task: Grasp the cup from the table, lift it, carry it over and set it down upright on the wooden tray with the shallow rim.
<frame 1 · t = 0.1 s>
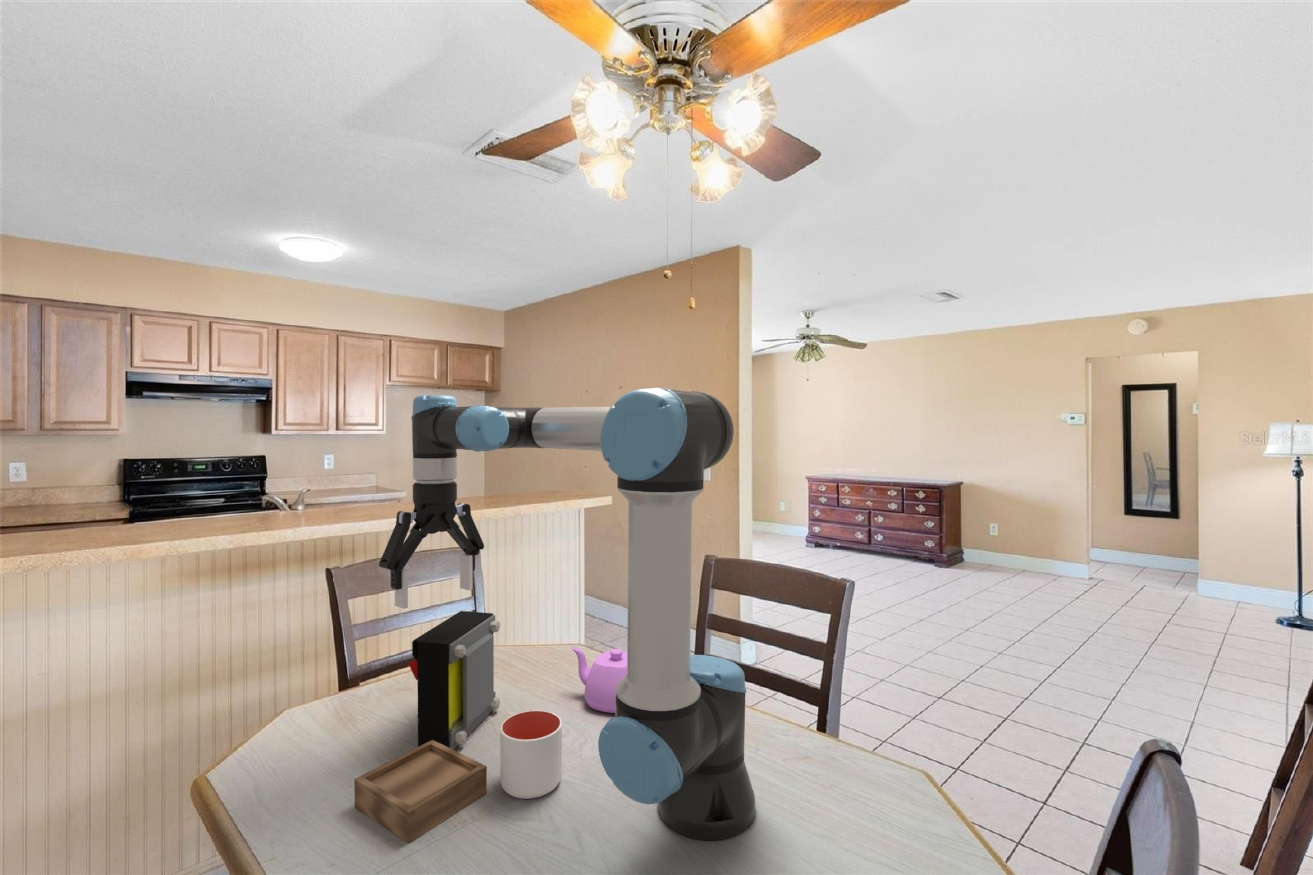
hand: (435, 597, 110), 28 cm above the table, fingers open, 13 cm apart
cup: (531, 785, 101), on the table
teapot: (613, 702, 131), on the table
electrical component: (458, 728, 119), on the table
wooden tray: (421, 800, 96), on the table
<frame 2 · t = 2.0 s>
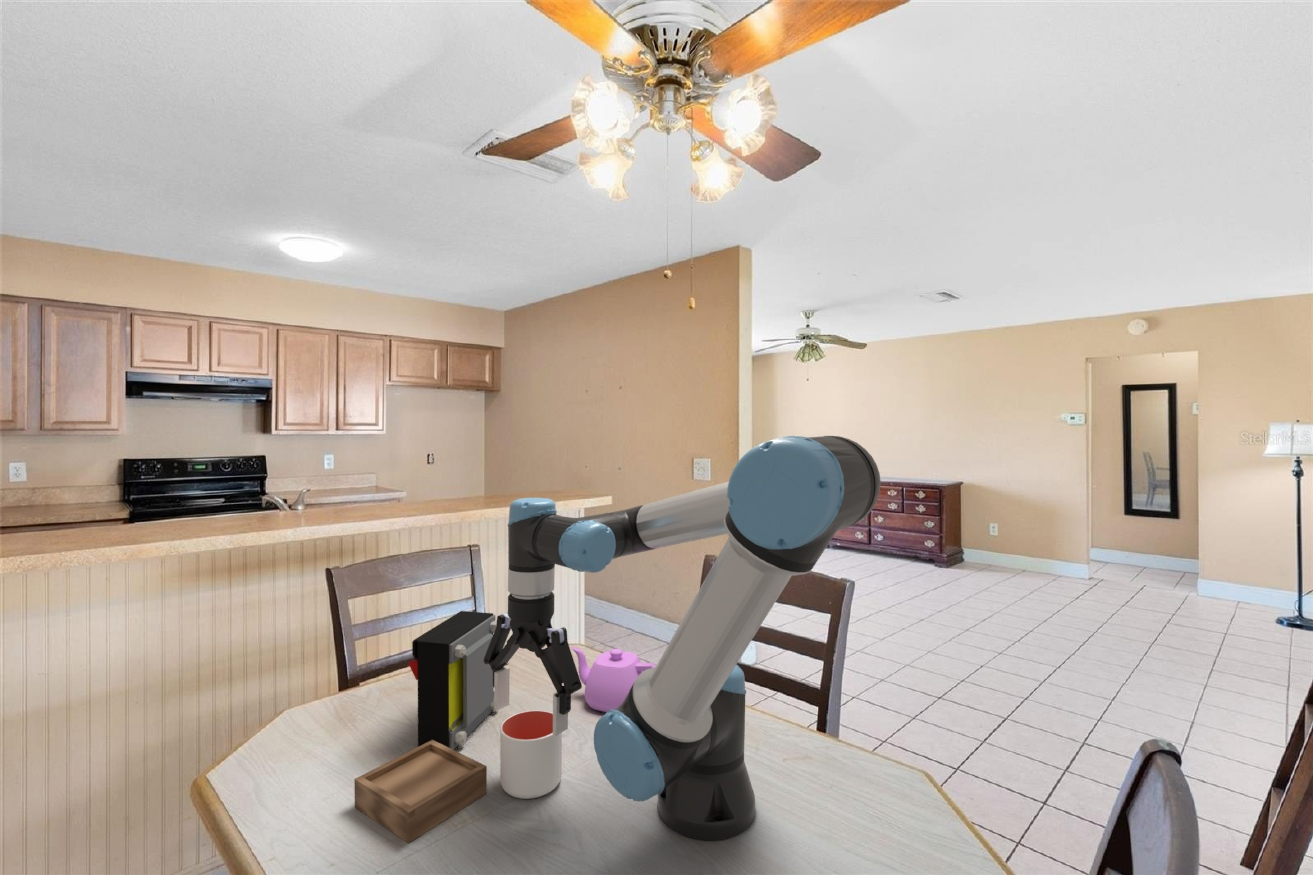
hand: (529, 719, 101), 11 cm above the table, fingers open, 13 cm apart
nothing on the table moved.
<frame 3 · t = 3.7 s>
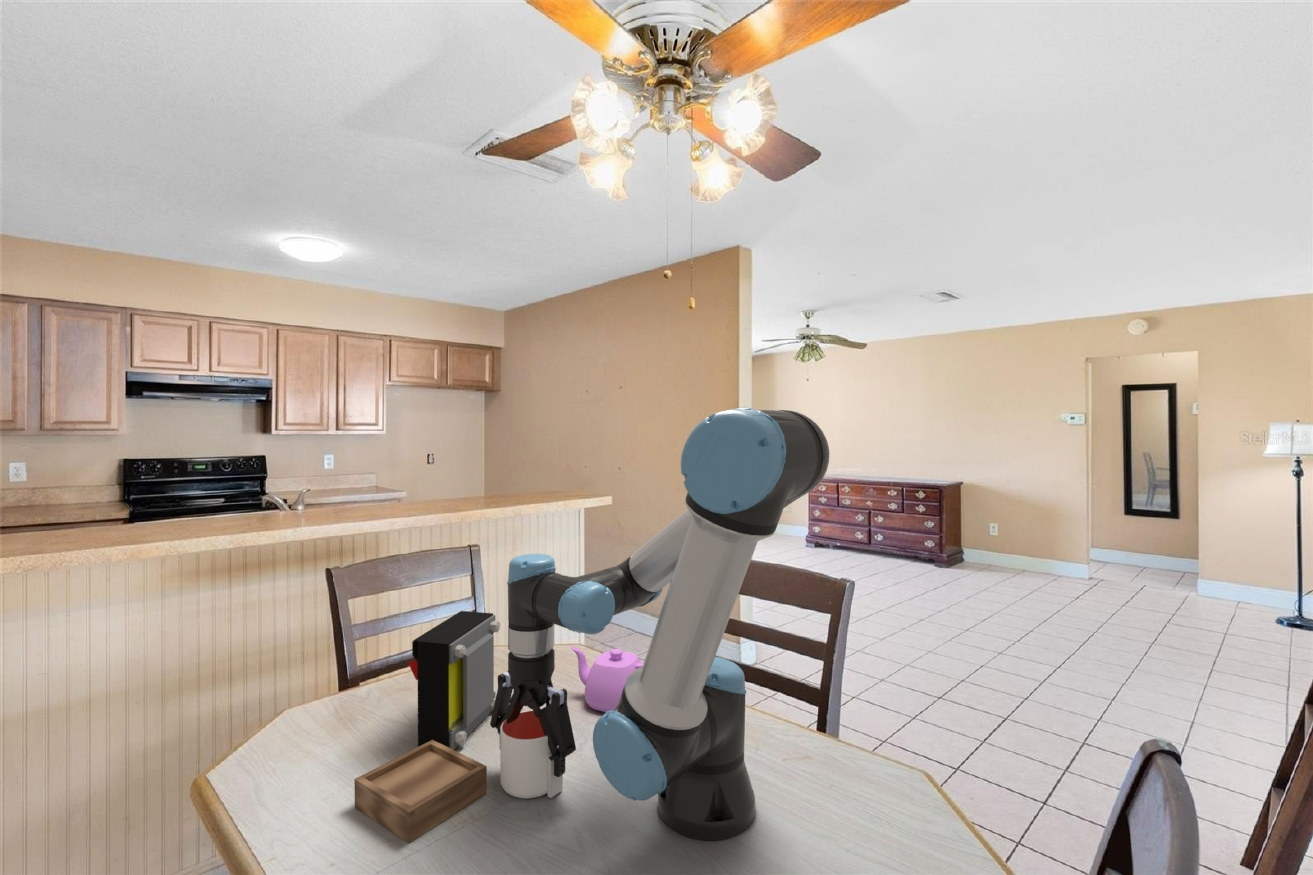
hand: (531, 781, 101), 0 cm above the table, fingers closed on cup, 10 cm apart
cup: (531, 784, 101), on the table, touching gripper
everything else where it was.
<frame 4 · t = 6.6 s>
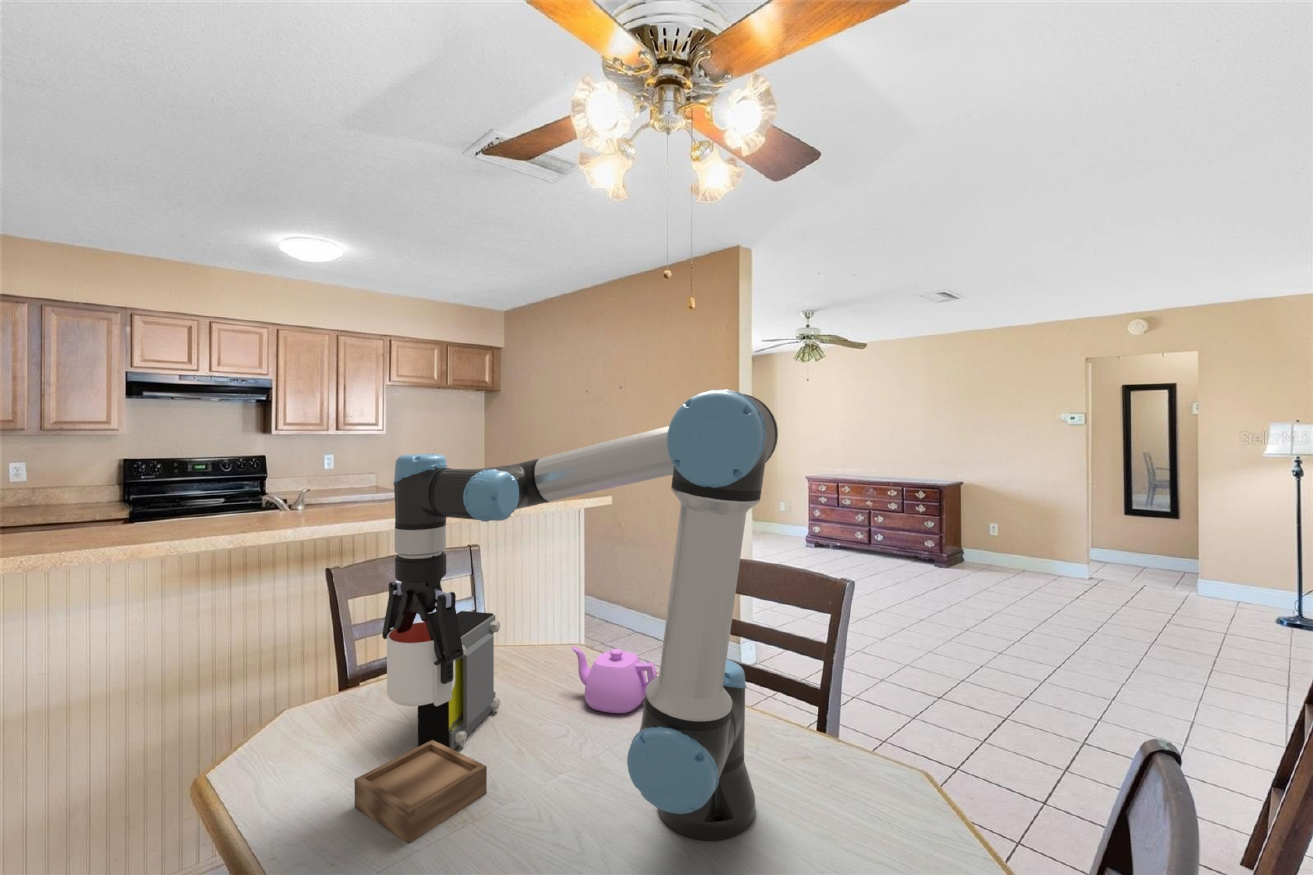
hand: (421, 693, 96), 17 cm above the table, fingers closed on cup, 10 cm apart
cup: (421, 695, 96), point 17 cm above the table, touching gripper
everything else where it was.
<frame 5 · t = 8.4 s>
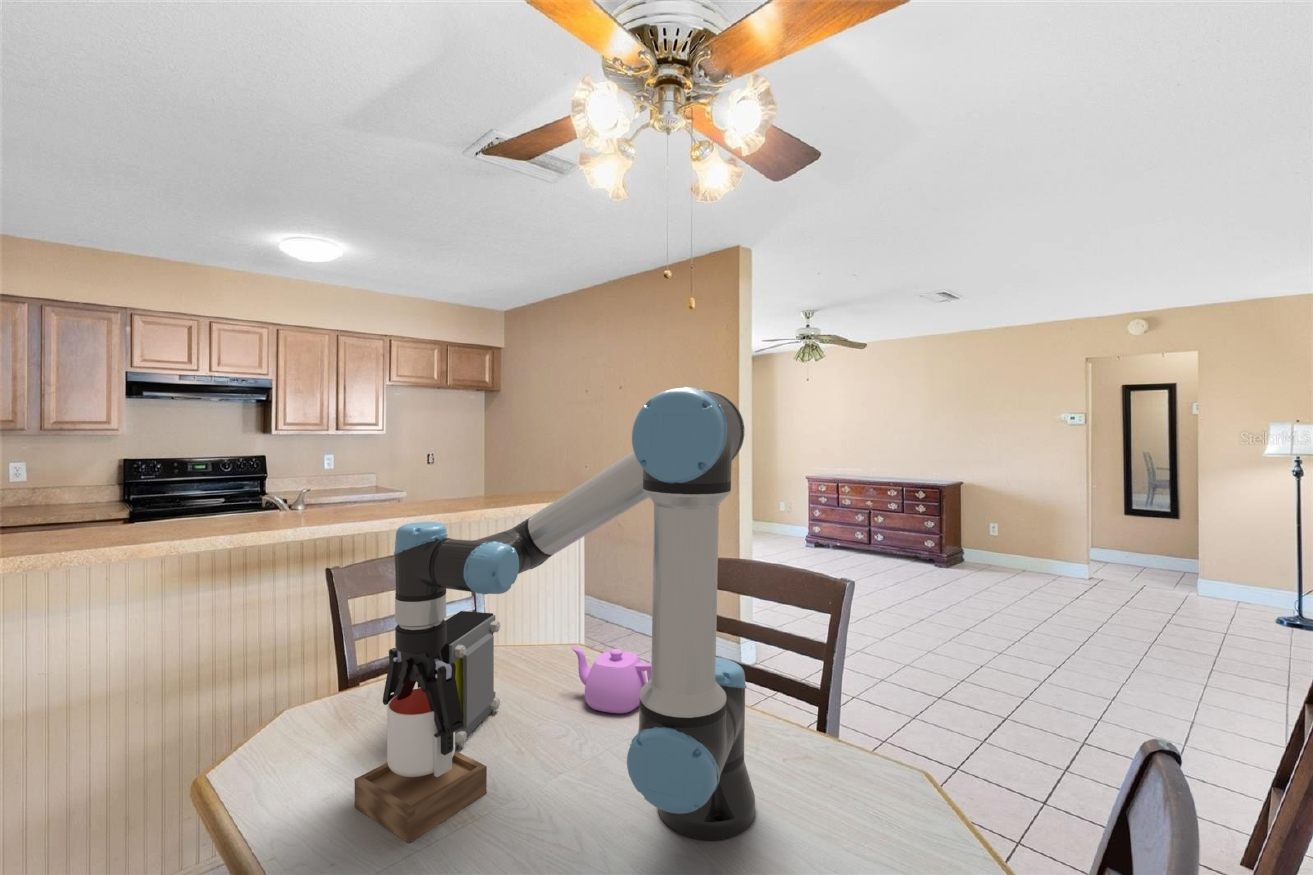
hand: (421, 761, 96), 6 cm above the table, fingers closed on cup, 10 cm apart
cup: (421, 763, 96), point 6 cm above the table, touching gripper
everything else where it was.
when the fingers open (6 cm above the table, at t = 9.5 s): cup drops 2 cm, resting on wooden tray.
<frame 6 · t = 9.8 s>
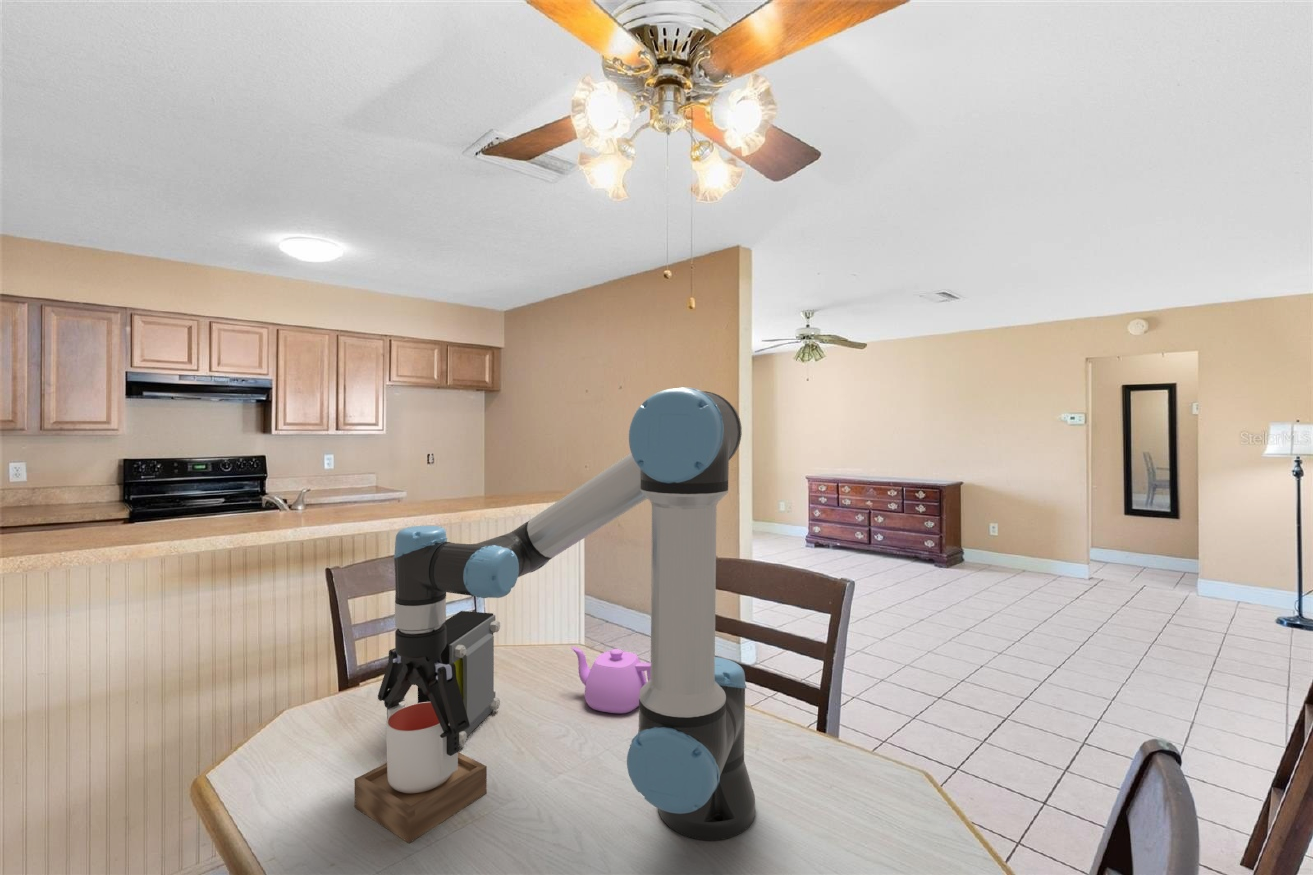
hand: (421, 759, 96), 7 cm above the table, fingers open, 13 cm apart
cup: (422, 779, 96), point 3 cm above the table, touching wooden tray
everything else where it was.
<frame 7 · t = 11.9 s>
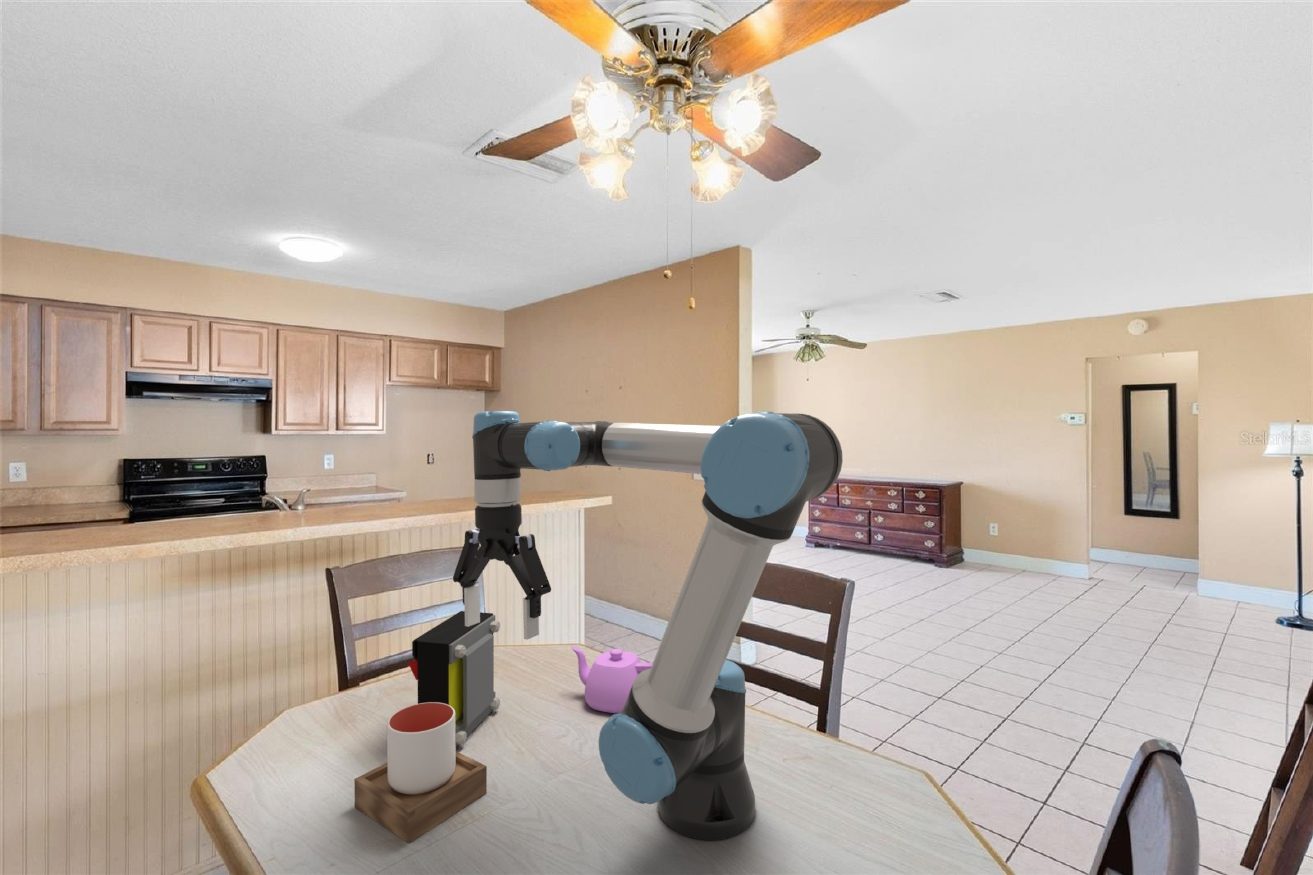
hand: (501, 630, 102), 25 cm above the table, fingers open, 13 cm apart
nothing on the table moved.
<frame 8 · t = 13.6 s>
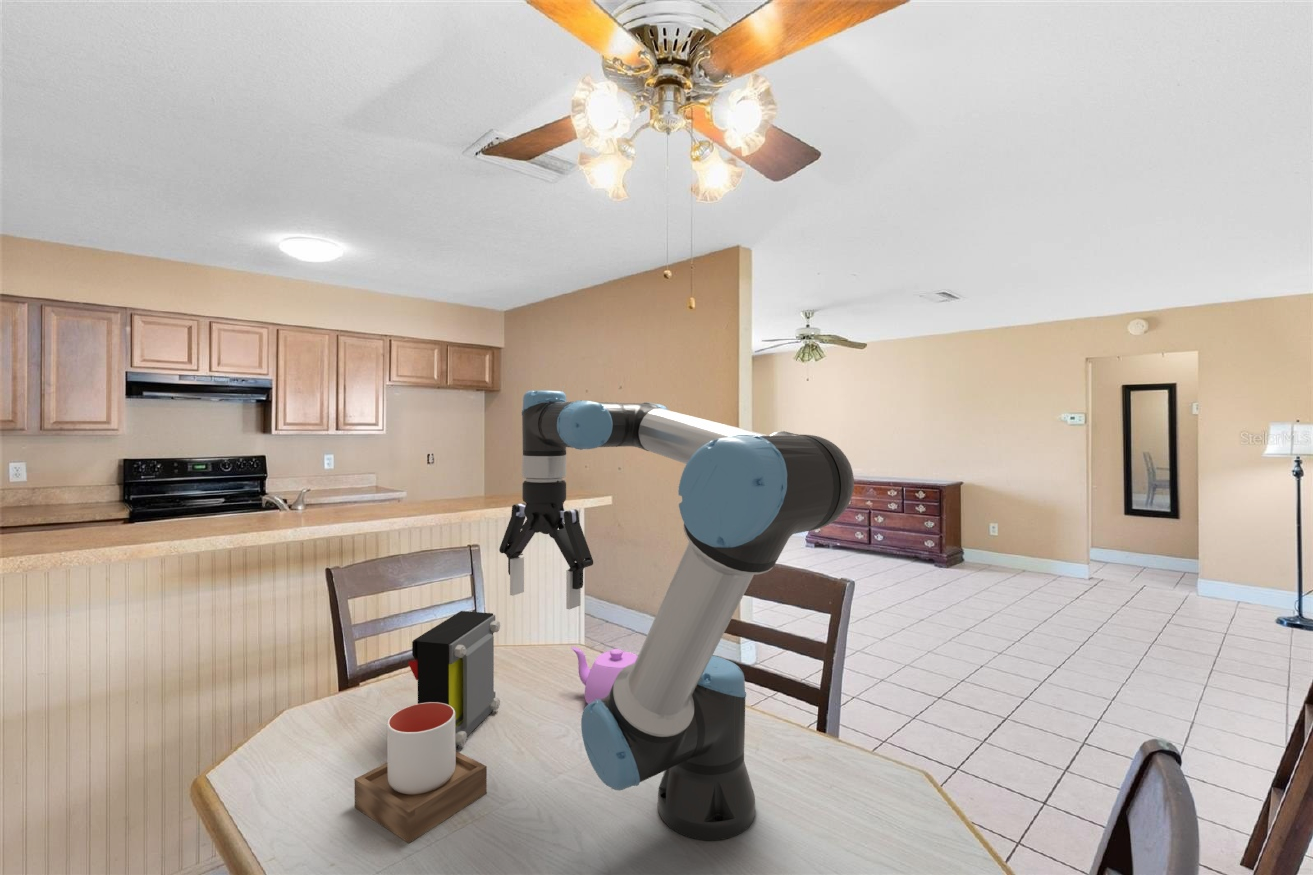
hand: (544, 600, 107), 29 cm above the table, fingers open, 13 cm apart
nothing on the table moved.
at the end: cup 0.2 cm from the wooden tray (horizontally); cup point 3.3 cm above the table; cup tilted 0° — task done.
